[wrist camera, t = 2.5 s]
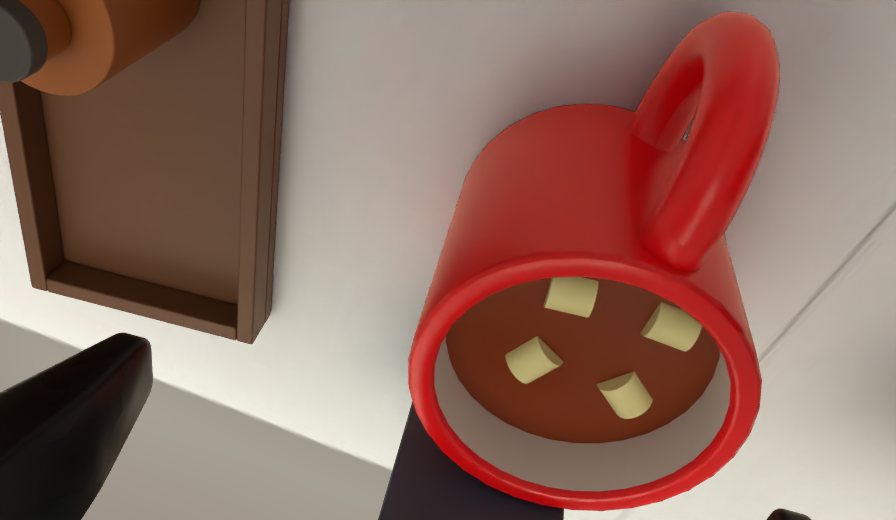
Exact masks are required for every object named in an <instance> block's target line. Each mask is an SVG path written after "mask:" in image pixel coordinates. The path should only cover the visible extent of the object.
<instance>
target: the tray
mask: <svg viewBox="0 0 896 520" xmlns="http://www.w3.org/2000/svg"><path fill="white" fill-rule="evenodd" d="M288 8H289V0H200V4H199V8H198V11H197V14H196V16H195V18H194V20H193V21H192V23H191V24H190V25H189V26H188V27H187V28H186V29H185V30H184V31H183V32H181V33H180V34H178V35H177V36H175V37H174V38H172V39H171V40H169V41H167V42H166V43H164V44H163V45H161V46H160V47H158V48H157V49H155V50H153V51H152V52H150V53H149V54H147V55H146V56H144V57H143V58H141V59H139V60H138V61H136V62H135V63H133V64H132V65H130V66H129V67H127V68H125V69H124V70H122V71H121V72H119V73H118V74H116V75H114V76H113V77H111V78H110V79H108V80H107V81H105V82H104V83H102V84H100V85H99V86H97V87H96V88H94V89H93V90H91V91H88V92H86V93H83V94H79V95H70V96H66V95H55V94H50V93H47V92H43V91H40V90H38V89H35V88H33V87H31V86H29V85H27V84H25V83H24V82H22V81H19V82H14V83H6V82H0V114H1V119H2V125H3V130H4V136H5V141H6V147H7V152H8V158H9V163H10V169H11V174H12V180H13V185H14V191H15V196H16V202H17V207H18V213H19V218H20V224H21V229H22V235H23V240H24V246H25V251H26V257H27V262H28V268H29V273H30V279H31V284H32V287H33V288H37V289H40V290H44V291H47V290H48V291H49V292H52V293H56V294H60V295H63V296H67V297H71V298H75V299H79V300H83V301H87V302H90V303H94V304H98V305H102V306H106V307H110V308H114V309H117V310H121V311H125V312H129V313H133V314H137V315H140V316H144V317H148V318H152V319H156V320H160V321H164V322H167V323H171V324H175V325H179V326H183V327H187V328H191V329H194V330H198V331H202V332H206V333H210V334H214V335H217V336H221V337H225V338H229V339H233V340H236V339H237V340H238V341H241V342H244V343H248V344H253V342H254V340H255V339H256V337H257V335H258V334H259V332H260V330H261V329H262V327H263V325H264V323H265V322H266V321H267V319H268V317H269V315H270V312H271V295H272V278H273V261H274V244H275V227H276V210H277V193H278V177H279V160H280V143H281V126H282V109H283V92H284V75H285V58H286V42H287V25H288Z"/></svg>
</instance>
